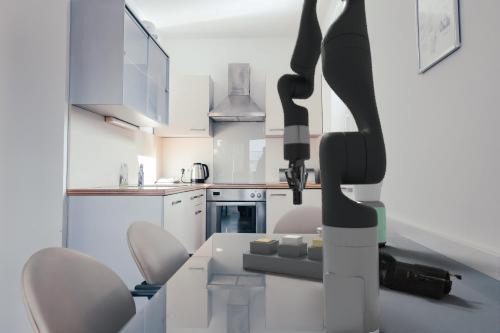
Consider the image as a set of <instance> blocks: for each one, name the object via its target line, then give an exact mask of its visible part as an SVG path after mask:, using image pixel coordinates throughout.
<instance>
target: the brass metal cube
mask: <svg viewBox="0 0 500 333" xmlns="http://www.w3.org/2000/svg"><path fill="white" fill-rule="evenodd" d="M312 245H313V247H314V248H322V237H318V236H317V237H314V238H313V239H312Z"/></svg>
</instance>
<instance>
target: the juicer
mask: <svg viewBox="0 0 500 333" xmlns="http://www.w3.org/2000/svg"><path fill="white" fill-rule="evenodd" d="M383 184H384V179H383V180H382V181H381V182H380V183H378V184H368V185H352V190H353V195H354V201H355V202H358V203H361V204H364V205H367V206H370V207H373V208H374V209H375V210H376V211H377V215H378V247H380V246H381V245H385V244H387V241H388V240H387V238H388V236H387V213H386V212H387V209H386V206H385V204H384V202H382V201H380V200H381V193H382V187H383Z"/></svg>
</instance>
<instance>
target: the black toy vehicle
mask: <svg viewBox="0 0 500 333" xmlns="http://www.w3.org/2000/svg"><path fill="white" fill-rule="evenodd" d="M378 255H379V283H382V284H383V285H386V288H389V287H390V288H389V289H393V288H394V290H397V289H398V291H401V292H406V293H408V294H409V293H410V294H413V295H416V294H417V295H418V296H420V295H421V297H424V296H425V298H428V297H429V299H432V298H433V300H438V301H440V300H442V299H443V298H445V297H446V296H448V295H449V294H450V293H451V291H452V286H453V281H452V280H451V276H452V277H455V278H456V279H457V280H460V281H462V278H463V277H462V275H459V274H453V273H450V272H449V270H445V269H444V268H440V267H437V266H432V265H431V266H430V265H426V264H425V265H424V264H419V263H409V262H404V261H401V260H397V258H396V257H394V256H393V255H391V254H390V253H387V252H384V251H382V250H378ZM417 295H416V296H417Z"/></svg>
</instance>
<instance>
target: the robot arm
mask: <svg viewBox="0 0 500 333" xmlns="http://www.w3.org/2000/svg"><path fill="white" fill-rule="evenodd" d="M341 2H342V9H341V11H340V13H339V14H338V16H336V18H335V19H334V21H333V22H332V23H331V24H330V26H329V27H328V28H327V30H326V32H325V33H324V35H323V33H322V29H321V25H320V23H319V20H318V14H317V4H318V0H302V5H301V9H300V10H301V11H300V16H299V24H298V31H297V37H296V40H295V45H294V48H293V51H292V55H291V57H290V62H289V66H290V70H291V71H292V72H294V73H282V74H281V75H280V76H279V78H278V80H277V84H276V88H277V94H278V98H279V101H280V104H281V107H282V113H283V140H282V144H283V148H282V149H283V150H282V151H283V160H284V161H288V168H287V170H284V175H285V178H286V179H285V180H286V182H287V184H288V188H289V189H290V190H291V192H292V204H293V205H294V206H301V205H303V192H304V190H305V189H306V188H307V187H306V186H307V182H308V178H309V172H308V171H307V168H306V165H305V161H309V160H310V159H311V134H310V126H309V124H310V119H309V109H308V108H307V107H306V106H303V105H299V104H297V103H295V102H294V100H307V99H309V98H311V97H312V96H313V94H314V91H315V76H316V75H315V74H316V68H317V64H318V62H319V60H320V58H321V60H320V61H321V73H322V76H323V78H324V80H325V82H326V84H327V85H328V86H329V88H330V89H331V90H332V92H333V93H334V94H335V95H336V96H337V97H338V98H339V99H340V101H341V102H343V104H344V105H345V106H346V108H347V109H348V111H349V112H350V114H351V115H352V117H353V120H354V122H355V124H356V128H357V131H329V132H326V133H324V134H323V135H322V136H321V138H320V141H319V145H318V146H319V147H318V162H319V163H318V165H319V173H320V174H319V176H320V189H321V227H322V252H323V279H322V300H323V301H322V302H323V307H322V308H323V326H324V327H325V333H369V332H374V331H376V330H378V329H379V328H380V329H381V303H380V302H381V301H380V300H381V298H380V297H381V295H380V282H379V255H378V251H379V246H378V215H377V211H376V210H375V209H374V208H373V207H370V206H367V205H364V204H361V203H358V202H355V201H356V200H353V199H351V198H350V197H348V196H347V195H345V193H343V191H342V186H353V185H368V184H378V183H380V182H381V181H382V180H383V181H384V179H385V175H386V172H387V150H386V143H385V138H384V133H383V129H382V124H381V119H380V115H379V114H380V113H379V110H378V105H377V101H376V99H377V98H376V95H375V94H376V92H375V86H374V75H373V60H372V52H371V44H370V38H369V31H368V30H369V29H368V22H367V14H366V1H365V0H341Z"/></svg>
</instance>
